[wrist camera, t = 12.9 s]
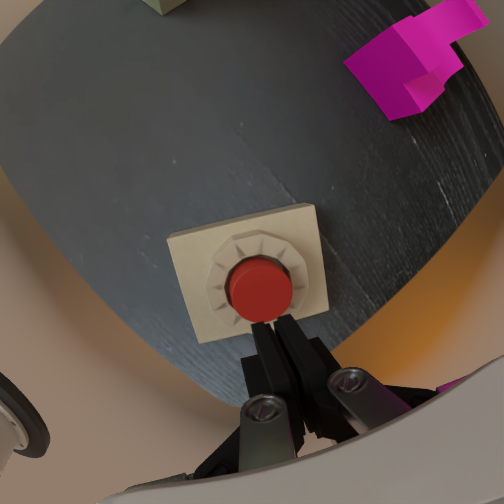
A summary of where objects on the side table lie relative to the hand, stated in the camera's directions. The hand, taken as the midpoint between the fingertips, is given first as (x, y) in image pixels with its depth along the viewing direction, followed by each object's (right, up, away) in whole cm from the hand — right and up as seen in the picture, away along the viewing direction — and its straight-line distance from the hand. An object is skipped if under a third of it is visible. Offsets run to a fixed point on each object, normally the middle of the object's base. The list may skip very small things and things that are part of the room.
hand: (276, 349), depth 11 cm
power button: (-1, +2, +7) cm, 7 cm away
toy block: (+14, +22, +8) cm, 27 cm away
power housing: (-1, +3, +10) cm, 11 cm away
